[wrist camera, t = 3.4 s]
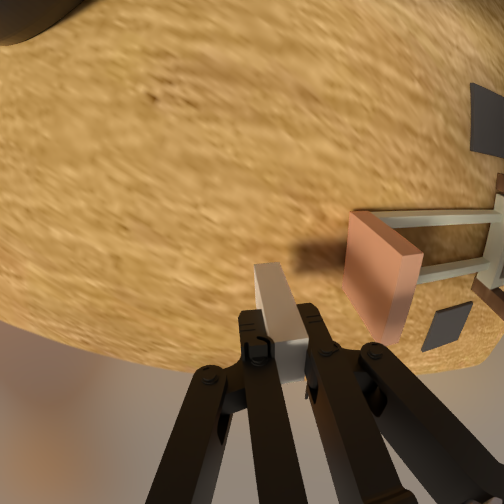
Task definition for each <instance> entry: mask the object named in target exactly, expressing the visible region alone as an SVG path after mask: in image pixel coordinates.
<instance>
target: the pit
mask: <svg viewBox="0 0 504 504" xmlns="http://www.w3.org/2000/svg"><path fill="white" fill-rule="evenodd" d="M470 90H471V140H470V150H471V151H474V152H479V153H484V154H488V155H492V156H497V157H501V158H504V97H502V96H500V95H498V94H496V93H494V92H492V91H490V90H488V89H486V88H484V87H482V86H479V85H477V84H475V83H470Z"/></svg>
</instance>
